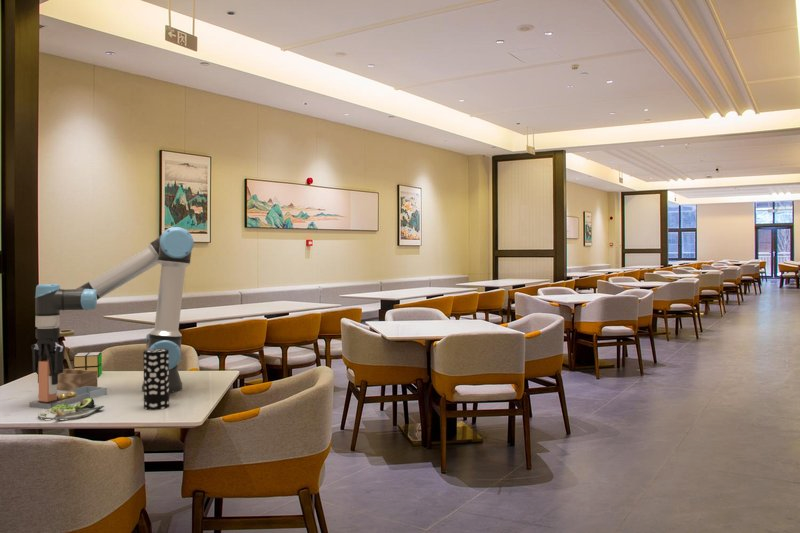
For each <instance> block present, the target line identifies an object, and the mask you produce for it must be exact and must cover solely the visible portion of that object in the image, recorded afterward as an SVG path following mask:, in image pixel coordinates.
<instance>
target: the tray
mask: <svg viewBox="0 0 800 533" xmlns="http://www.w3.org/2000/svg"><path fill="white" fill-rule="evenodd" d="M107 389H108V388H107V387H102V386H101V387H100V386H97V387H92V386H85V387H81V388H76V389H72V390H70V391H75V392H76V393H77V396H81V395H85V394H90V398H92V399H94V398H98V397H102V396H106V395H107V394H108V393H107V392H108V390H107ZM70 391H69V392H70Z"/></svg>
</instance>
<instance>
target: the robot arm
mask: <svg viewBox="0 0 800 533" xmlns="http://www.w3.org/2000/svg"><path fill="white" fill-rule="evenodd" d="M194 242H195V241H194V238H193V235H192V234H191V233H190V232H189V230H187V229H185V228H183V227H179V226H172V227H168V228H167V229H165V230H164V231H163V232H162V234H160V236H159V237H157V238H156V239H155V240H153V241H151V242H149V244H148V246H147V247H146V248H144V249H143V250H141V251H139V252H137V253H136V254H133V255H132V256H131V257H128V258H127V259H125V260H123V261H122V262H120V263H118V264H117V265H115V266H114V267H111V268H110V269H108V270H106V271H105V272H103V273H101V274H100V275H98V276H96V277H94V278H93V279H91V280H89V281H88V282H86V283H84V284H82V285H80V286H79V287H77V288H75V289H73V288H72V289H71V288H70V289H64V288H61V287H60V284H59V283H40V284H37V285H36V287H35V296H34V299H35V300H34V302H35V306H34V307H35V324H34V325H35V326H34V327H35V328H36V329H35V338H36V340H37V341H36V343H34V344H31V345H30V349H31V354H32V372H33V373H36V375H37V384H39V361H45V360H49V367H50V373H51V374H50V375H49V394H54V393H57V394H58V390H57V384H58V374H60V373H63V369H64V351H65V348H66V347H65V345H60V344H59V341H58V339H59V338H60V336H61V333H60V332H61V328H60V327H59V326H60V325H61V324H60V318H61V317H60V314H61V313H60V311H89V310H96V308H97V306H98V300H100V299H101V298H103V297H105V296H106V295H108V294H110V293H112V292H113V291H115V290H117V289H119V288H120V287H122V286H123V285H125V284H127V283H128V282H130V281H132V280H133V279H135V278H136V277H139V276H141V275H142V274H144V273H145V272H147V271H149V270H151V269H152V268H154V267H156V266H157V265H159V264H160V266H161V270H160V275H159V276H160V277H159V278H160V279H159V286H158V295H157V296H158V297H157V304H156V310H155V311H156V312H155V318H154V320H155V321H154V329H152V330H150V332H149V333H148V334H146V336H145V338H146V339H145V343H146V344H145V345H146V346H145V347H146V348H145V351H146V350H152V349H167V350H169V394H170V393H176V392H178V391H182V390H183V381H182V379H181V375H180V374H179V373H180V372H179V368H178V364H179V362H180V361H181V358H182V350H181V347H182V346H181V345H182V337H183V335H182V333H181V332H180V330H179V328H180V319H181V310H182V302H183V292H184V283H185V276H186V268H187V267H188V266H190V265H191V257H192V251H193V248H194V247H195V246H194ZM54 371H55V372H54ZM141 392H143V393H144V381H143V383H142V385H141Z"/></svg>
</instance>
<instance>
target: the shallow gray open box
mask: <svg viewBox="0 0 800 533" xmlns="http://www.w3.org/2000/svg"><path fill="white" fill-rule="evenodd" d="M68 393H69V392H67V393H65V394H68ZM59 395H60V394H57V400H53V401H49V402H44V401H39V399H38V400H34V401H30V402H29V406H28V407H29V408H36V409H44V410H49V409H50V408H52V407H55V406H56V405H61V404H68V405H73V404H75V403H80V401H82V400H84V399H86V398H90V394H85V395H81V396H77V397H73V398H69V399H65V400H61V401H59V400H58V396H59Z"/></svg>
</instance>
